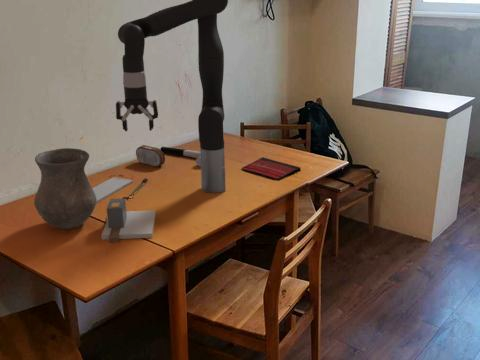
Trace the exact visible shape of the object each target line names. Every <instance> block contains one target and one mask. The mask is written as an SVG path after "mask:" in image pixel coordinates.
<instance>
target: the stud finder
mask: <svg viewBox="0 0 480 360" xmlns="http://www.w3.org/2000/svg"><path fill="white" fill-rule="evenodd" d="M126 202H127V201H126V200H125V198H124V199H122V198H110V199H109V200H108V204H107V206H106V216H107V217H106V218H107V219H108V227H109V228H123V227H124V226H125V222H126V219H127V213H126V211H127V204H126Z"/></svg>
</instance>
